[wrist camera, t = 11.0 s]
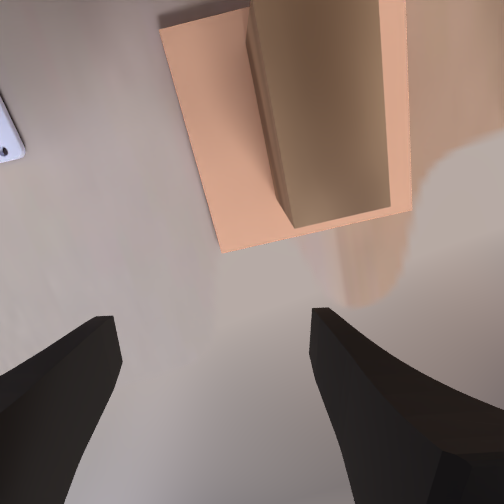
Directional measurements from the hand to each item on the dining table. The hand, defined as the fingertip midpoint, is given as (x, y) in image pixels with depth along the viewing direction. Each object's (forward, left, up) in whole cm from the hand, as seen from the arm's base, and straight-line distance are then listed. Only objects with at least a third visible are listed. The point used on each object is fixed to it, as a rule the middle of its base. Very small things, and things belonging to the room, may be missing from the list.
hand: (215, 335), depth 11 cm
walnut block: (+6, +6, -9) cm, 12 cm away
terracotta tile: (+6, +6, -9) cm, 12 cm away
